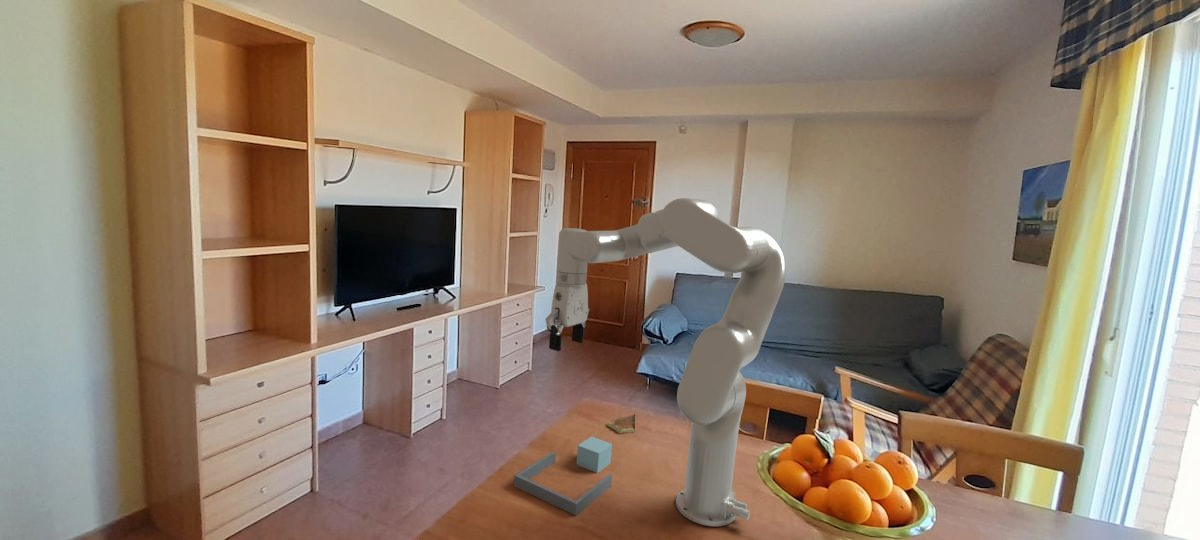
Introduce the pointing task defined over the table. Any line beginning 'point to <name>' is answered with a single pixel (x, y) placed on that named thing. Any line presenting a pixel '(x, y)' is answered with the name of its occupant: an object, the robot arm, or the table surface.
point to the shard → (623, 424)
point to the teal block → (594, 454)
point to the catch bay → (551, 496)
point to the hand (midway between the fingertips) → (566, 345)
